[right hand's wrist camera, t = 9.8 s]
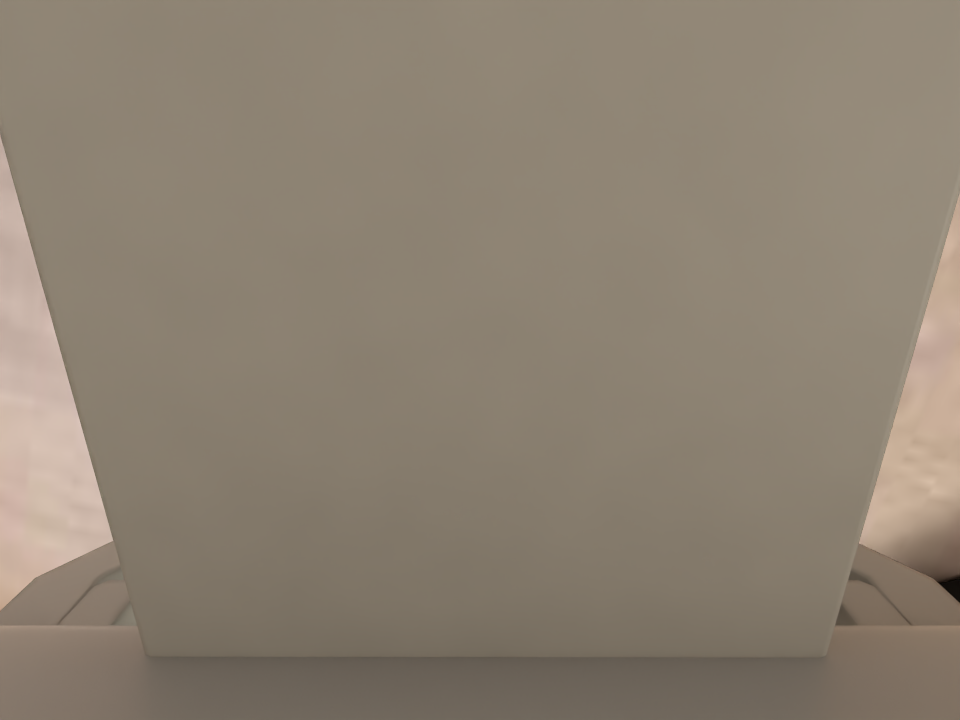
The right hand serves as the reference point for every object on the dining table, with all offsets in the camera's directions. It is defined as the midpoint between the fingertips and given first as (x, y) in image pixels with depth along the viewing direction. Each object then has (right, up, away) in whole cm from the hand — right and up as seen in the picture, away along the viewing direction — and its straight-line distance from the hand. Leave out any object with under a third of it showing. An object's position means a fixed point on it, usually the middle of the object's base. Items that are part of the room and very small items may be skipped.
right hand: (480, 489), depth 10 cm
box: (0, +11, 0) cm, 11 cm away
